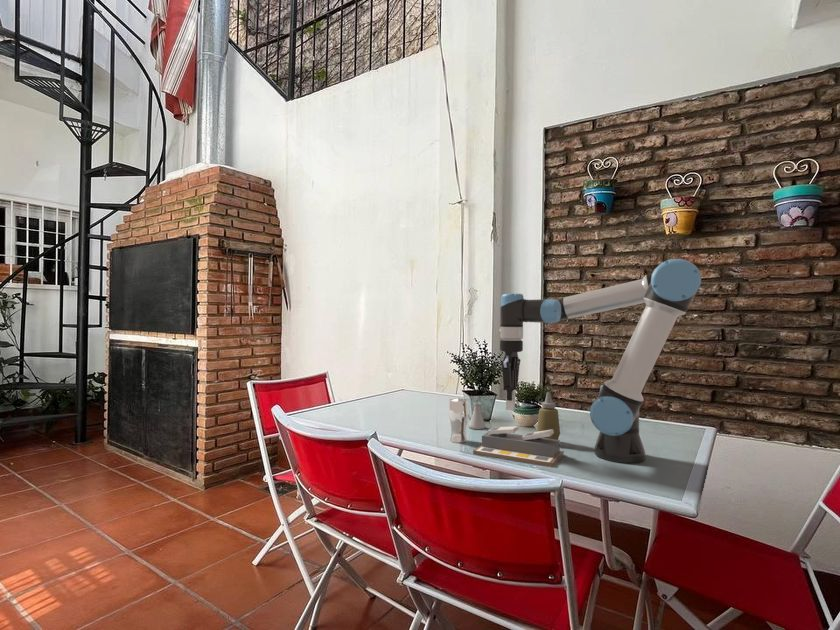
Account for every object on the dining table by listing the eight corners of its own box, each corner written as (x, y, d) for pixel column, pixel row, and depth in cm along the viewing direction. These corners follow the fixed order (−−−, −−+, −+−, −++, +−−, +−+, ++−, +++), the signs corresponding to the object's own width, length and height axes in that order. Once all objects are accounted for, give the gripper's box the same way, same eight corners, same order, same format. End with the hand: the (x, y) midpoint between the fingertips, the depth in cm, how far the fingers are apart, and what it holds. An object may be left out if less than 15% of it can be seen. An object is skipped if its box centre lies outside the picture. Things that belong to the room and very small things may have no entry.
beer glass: (452, 444, 163) (452, 401, 163) (446, 439, 170) (446, 398, 170) (471, 442, 165) (471, 400, 165) (464, 437, 172) (464, 397, 172)
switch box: (563, 454, 150) (563, 437, 150) (552, 467, 138) (552, 448, 138) (488, 443, 163) (489, 427, 163) (473, 453, 151) (473, 436, 151)
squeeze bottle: (563, 442, 166) (563, 392, 166) (556, 447, 159) (556, 395, 159) (541, 438, 170) (541, 390, 170) (533, 443, 164) (533, 393, 164)
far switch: (518, 429, 155) (517, 425, 156) (513, 432, 151) (512, 429, 151) (493, 431, 160) (492, 427, 160) (488, 434, 156) (487, 430, 156)
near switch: (553, 432, 149) (552, 429, 150) (549, 436, 145) (548, 432, 145) (527, 436, 154) (526, 433, 154) (523, 440, 150) (522, 436, 150)
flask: (472, 430, 183) (472, 405, 183) (465, 426, 190) (465, 402, 190) (489, 429, 185) (489, 404, 185) (481, 425, 192) (481, 401, 192)
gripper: (507, 338, 162) (506, 405, 162) (493, 340, 150) (492, 411, 151) (528, 339, 158) (527, 407, 158) (516, 340, 147) (515, 414, 147)
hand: (510, 409), depth 154 cm, fingers closed
